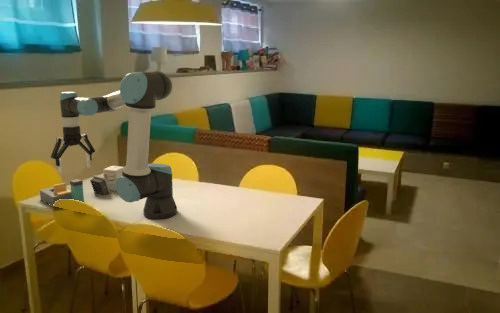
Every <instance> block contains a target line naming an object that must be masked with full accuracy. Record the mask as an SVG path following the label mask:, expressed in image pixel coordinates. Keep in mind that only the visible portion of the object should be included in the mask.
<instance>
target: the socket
mask: <svg viewBox="0 0 500 313" xmlns="http://www.w3.org/2000/svg"><path fill="white" fill-rule="evenodd" d="M66 189H68V190H70V191H71V187H69V186H68V185H66ZM53 191H54V186H51V187H46V188H42V189H39V197H40V200H41V201H42V200H43V202H44V201H45V202H44V203H46V204H47V203H48V204H47V205H49V204H50V205H49V206H51V205H52V206H53V204H54V203H55V201H57V200H59V199H72V194H71V193H69V194H65V195H61V196H58V195H56V194H55V193H53ZM52 206H51V207H52Z"/></svg>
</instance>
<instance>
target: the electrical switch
mask: <svg viewBox="0 0 500 313" xmlns="http://www.w3.org/2000/svg"><path fill="white" fill-rule="evenodd" d="M92 177H93V178H91V179H90V180H89V181H90V185H91V187H92V190H93V192H94V193H95V194H99V195H102V196H105V195H107V194H111V191H110V189H109V186H108V183H107V180H106V178H104V176H98V175H93V176H92Z"/></svg>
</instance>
